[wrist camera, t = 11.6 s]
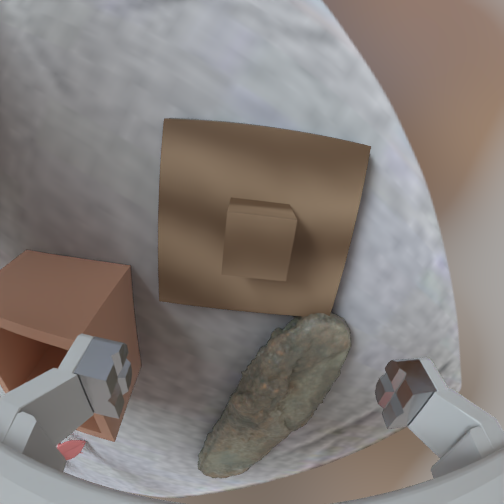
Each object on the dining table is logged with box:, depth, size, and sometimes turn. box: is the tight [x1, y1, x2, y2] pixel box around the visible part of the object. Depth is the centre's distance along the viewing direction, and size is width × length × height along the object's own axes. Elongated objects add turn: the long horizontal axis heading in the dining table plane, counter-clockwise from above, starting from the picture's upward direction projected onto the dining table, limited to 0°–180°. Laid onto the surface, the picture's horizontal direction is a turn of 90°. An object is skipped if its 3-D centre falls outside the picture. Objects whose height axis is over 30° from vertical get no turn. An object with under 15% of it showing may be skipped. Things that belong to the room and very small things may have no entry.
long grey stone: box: [198, 313, 351, 478], centre depth 31 cm, size 35×5×10 cm
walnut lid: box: [158, 119, 371, 317], centre depth 20 cm, size 14×14×4 cm
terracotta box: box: [0, 250, 141, 442], centre depth 21 cm, size 12×12×10 cm
